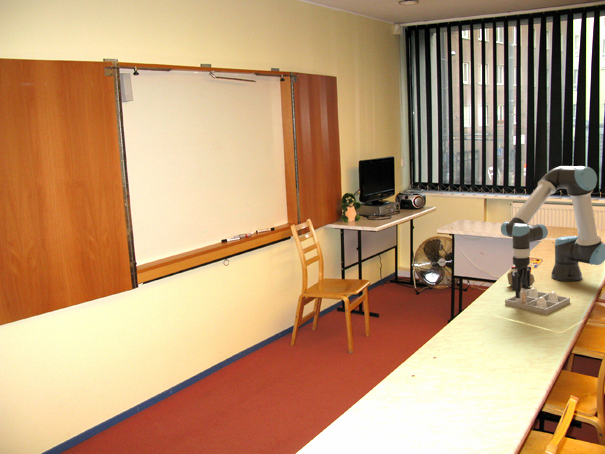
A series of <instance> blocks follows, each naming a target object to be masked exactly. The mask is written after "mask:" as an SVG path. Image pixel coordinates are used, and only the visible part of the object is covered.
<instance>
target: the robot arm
mask: <svg viewBox="0 0 605 454" xmlns="http://www.w3.org/2000/svg"><path fill="white" fill-rule="evenodd" d="M597 182H598V176H597V173H596V172H595V170H594V169H593V168H591V167H589V166H583V165H578V166H573V165H570V166H569V165H560V166H557V167H554V168H552V169H550V170H549V171H548V172H547V173H545V174H544V175H543V176H542V177H541V178H540V180H539V181H538V182H537V187H536V188H534V191H532V193H531V194H530V195H529V197H528V198H527V200H526V201H525V202H524V203H523V204H522V206H521V207H520V209H519V210H518V211H517V212H516V214H514V216H513V217H512V219H511V220H510V221H504V222H503V223H501V226H500V233H501V234H502V235H503V236H505V237H509V238H512V265H514V269H515V271H514V272H511V275H512V286H511V287H512V292H515V295H516V302H519V303H522V293H524V294H525V296H526V302H527V290H529V289H531V286H530V274H531V271H532V266H530V263H531V261H530V256H531V251H530V249H531V248H530V244H531V243H534V242H537V241H541V240H543V239H546V238H547V236H548V235H549V231H548V228H547V226H546V225H544V224H542V223H539V224H538V223H537V224H529V223H530V221H531V220H532V219H533V218H534V217H535V215H536V214H537V213H538V211H539V210H540V209H541V207H543V205H544V203H546V202H547V200H548V198H549V197H550V196H551V195H553V194H555V193H556V192H557V190H560V189H561V190H562V189H563V190H564V189H565V190H566V191H567V195H568V196H569V197H571V201H572V207H573V208H572V209H573V213H574V219H575V224H576V225H575V226H576V230H577V235H567V236H560V237H557V238H556V239H555V243H554V265H553V268H552V271H551V278H552V279H554V280H556V281H561V282H577V281H580V280H582V278H583V274H582V271H581V267H580V265H579V263H583V264H588V265H593V266H594V265H595V266H600V265H602V264H603V263H604V262H605V243H602V238H601V237H600V235H598V233H597V227H596V219H595V213H594V209H593V201H592V195H591V194H592V193H593V192H594V189H595V188H596V186H597ZM521 282H522V287H521Z"/></svg>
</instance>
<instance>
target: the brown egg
mask: <svg viewBox="0 0 605 454" xmlns="http://www.w3.org/2000/svg"><path fill="white" fill-rule="evenodd" d="M522 303H523V304H526V296H525V294H524V293H522Z"/></svg>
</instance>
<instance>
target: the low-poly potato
mask: <svg viewBox="0 0 605 454" xmlns="http://www.w3.org/2000/svg"><path fill="white" fill-rule="evenodd" d="M514 271H515V268H511V269H510V270H509V271H508V273H507V283H508V285H510V286H511V287H512V275H511V272H514ZM534 283H535V276H534V275H533V274H532V273H530V287H531V286H533V285H534ZM521 288H522V282H521Z"/></svg>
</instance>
